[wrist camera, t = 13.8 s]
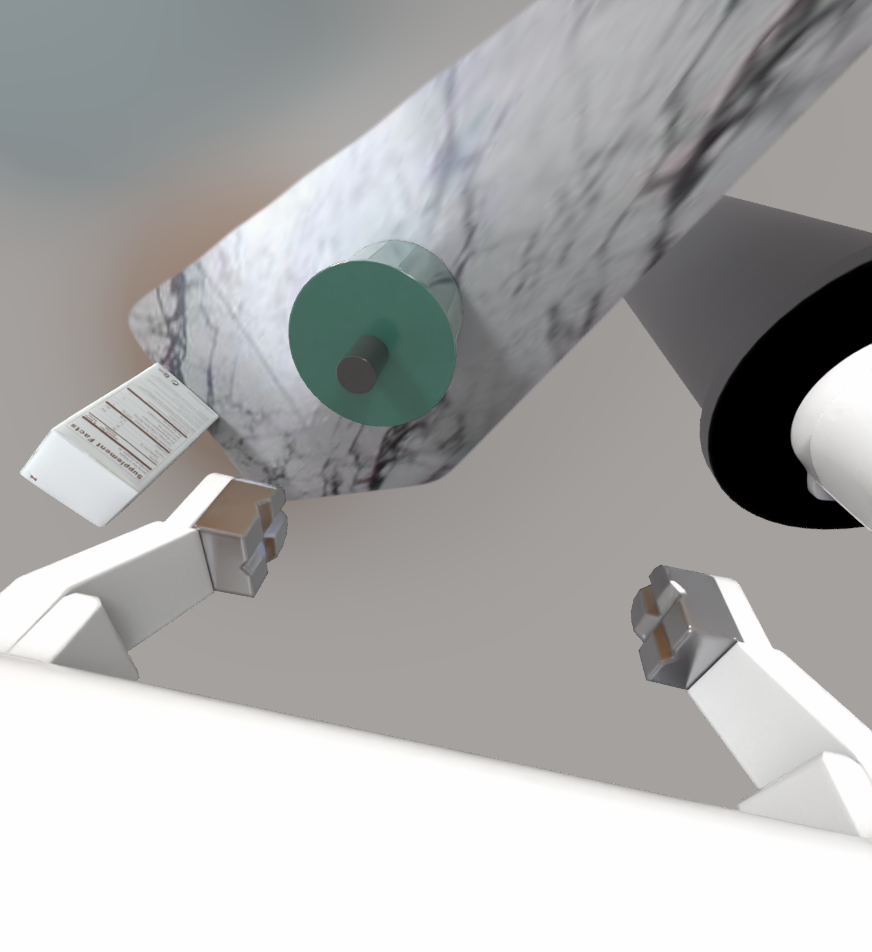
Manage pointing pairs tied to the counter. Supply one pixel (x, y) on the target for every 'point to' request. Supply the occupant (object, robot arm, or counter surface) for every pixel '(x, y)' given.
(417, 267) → the tin
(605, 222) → the counter surface
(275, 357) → the counter surface
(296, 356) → the lid
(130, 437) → the white packaging box
